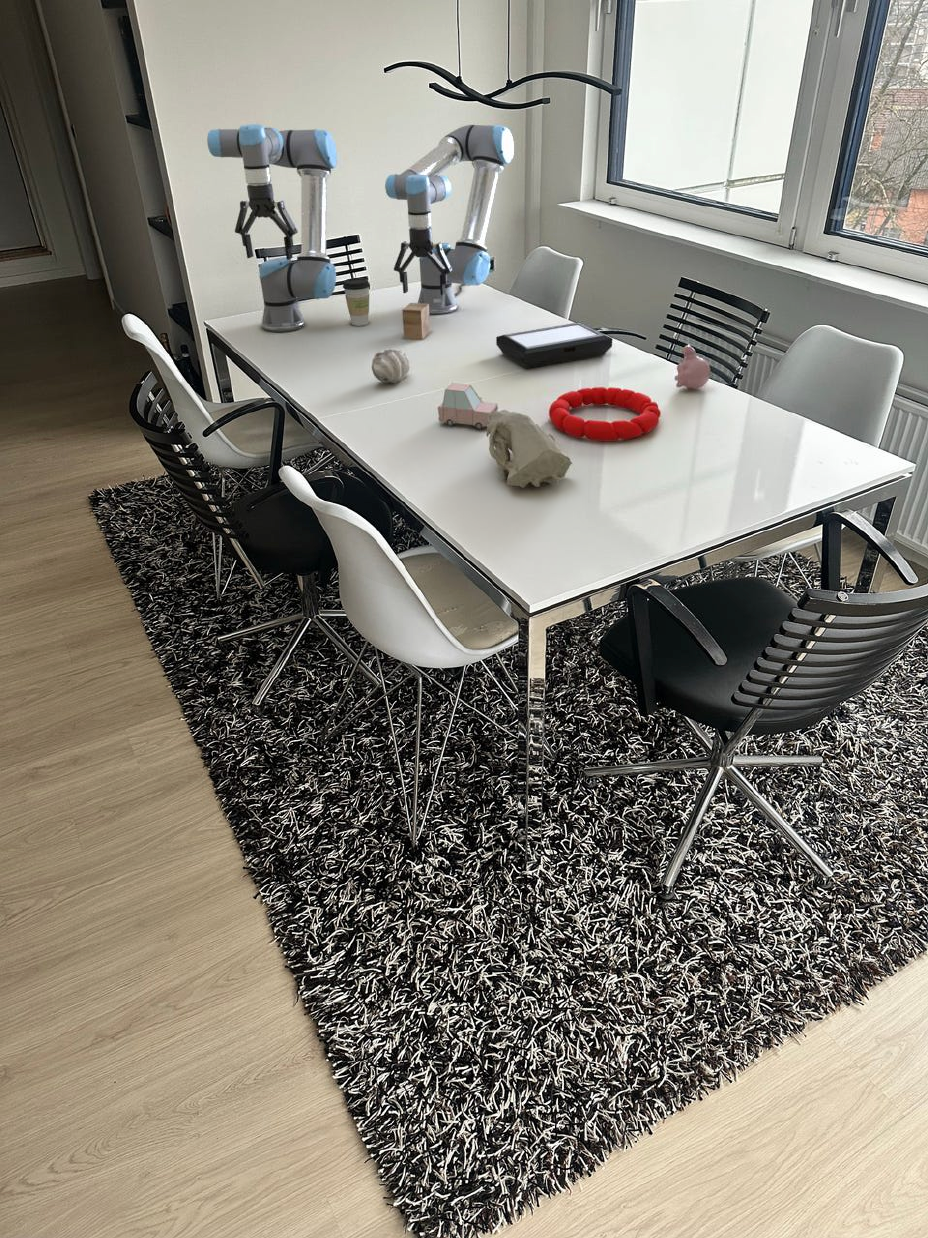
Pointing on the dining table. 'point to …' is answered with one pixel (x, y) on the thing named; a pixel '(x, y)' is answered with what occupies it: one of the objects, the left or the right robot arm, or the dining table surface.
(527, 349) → the electronic device
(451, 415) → the toy car
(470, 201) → the right robot arm
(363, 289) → the coffee cup
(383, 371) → the seashell
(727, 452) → the dining table surface
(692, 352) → the figurine
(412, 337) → the block
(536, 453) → the grey rough stone chunk
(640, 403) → the decorative ring
